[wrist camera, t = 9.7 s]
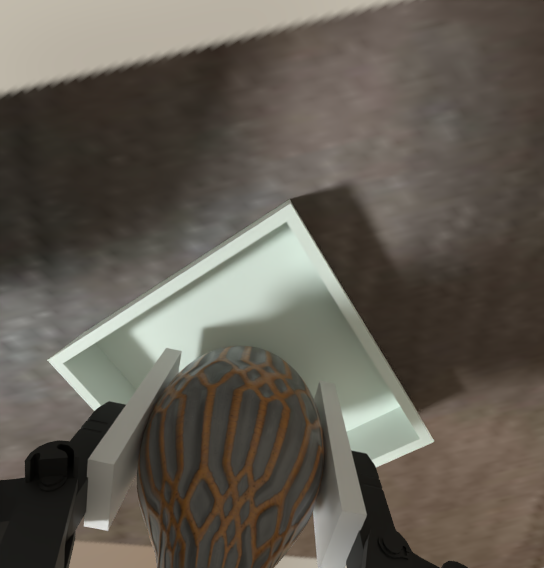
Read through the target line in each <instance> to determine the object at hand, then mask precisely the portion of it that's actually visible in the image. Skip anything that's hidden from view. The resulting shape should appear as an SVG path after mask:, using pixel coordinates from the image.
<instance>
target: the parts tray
mask: <svg viewBox="0 0 544 568" xmlns="http://www.w3.org/2000/svg"><path fill="white" fill-rule="evenodd" d="M229 346H251V347H256V348H260V349H263V350H266V351H269V352H271V353H273V354H275V355H277V356H278V357H280V358H282V359H283V360H284V361H286V362H287V363H288V364H289V365H290V366H291V367H292V368H293V369H295V371H296V372H297V373H298V374H299V375H300V377H301V378H302V379H303V381H304V382H305V383H306V385H307V387H308V388H309V390H310V392H311V394H312V396H313V398H314V397H315V394H316V391H317V387H318V384H319V381H324V382H329V383H334V384H335V387H336V391H337V395H338V399H339V403H340V407H341V411H342V415H343V419H344V423H345V428H346V432H347V436H348V440H349V444H350V448H351V450H352V451H357V452H362V453H366V454H367V455H368V456H369V458H370V459H371V460H372V462H373V463H374V465H375V467H378V466H380V465H382V464H385V463H387V462H389V461H392V460H394V459H396V458H398V457H401V456H403V455H405V454H407V453H410V452H412V451H414V450H417V449H419V448H421V447H423V446H426V445H428V444H430V443H433V442H434V440H433V438H432V436H431V435H430V433H429V431H428V429H427V428H426V426H425V424H424V422H423V421H422V419H421V417H420V415H419V414H418V412H417V410H416V409H415V407H414V405H413V403H412V402H411V400H410V398H409V397H408V395H407V393H406V392H405V390H404V388H403V387H402V385H401V383H400V382H399V380H398V378H397V377H396V375H395V373H394V372H393V370H392V368H391V367H390V365H389V363H388V362H387V360H386V358H385V357H384V355H383V353H382V352H381V350H380V348H379V347H378V345H377V343H376V342H375V340H374V338H373V337H372V335H371V333H370V332H369V330H368V328H367V327H366V325H365V323H364V322H363V320H362V319H361V317H360V315H359V314H358V312H357V310H356V309H355V307H354V305H353V304H352V302H351V300H350V299H349V297H348V295H347V294H346V292H345V290H344V289H343V287H342V285H341V284H340V282H339V280H338V279H337V277H336V275H335V274H334V272H333V270H332V269H331V267H330V265H329V264H328V262H327V260H326V259H325V257H324V255H323V254H322V252H321V250H320V249H319V247H318V245H317V244H316V242H315V241H314V239H313V237H312V236H311V234H310V232H309V231H308V229H307V227H306V226H305V224H304V222H303V221H302V219H301V217H300V216H299V214H298V212H297V211H296V209H295V207H294V206H293V204H292V202H291V201H290V199H289V200H287V201H286V202H284V203H283V204H281V205H280V206H278V207H277V208H275V209H273V210H272V211H270V212H269V213H267V214H266V215H264V216H263V217H261V218H260V219H258V220H256V221H255V222H253V223H252V224H250V225H249V226H247V227H246V228H244V229H243V230H241V231H240V232H238V233H236V234H235V235H233V236H232V237H230V238H229V239H227V240H226V241H224V242H223V243H221V244H219V245H218V246H216V247H215V248H213V249H212V250H210V251H209V252H207V253H206V254H204V255H203V256H201V257H199V258H198V259H196V260H195V261H193V262H192V263H190V264H189V265H187V266H186V267H184V268H182V269H181V270H179V271H178V272H176V273H175V274H173V275H172V276H170V277H169V278H167V279H165V280H164V281H162V282H161V283H159V284H158V285H156V286H155V287H153V288H152V289H150V290H149V291H147V292H145V293H144V294H142V295H141V296H139V297H138V298H136V299H135V300H133V301H132V302H130V303H128V304H127V305H125V306H124V307H122V308H121V309H119V310H118V311H116V312H115V313H113V314H112V315H110V316H108V317H107V318H105V319H104V320H102V321H101V322H99V323H98V324H96V325H95V326H93V327H91V328H90V329H88V330H87V331H85V332H84V333H83V334H81V335H80V336H79V337H77V338H76V339H75V340H73V341H72V342H71V343H70V344H68V345H67V346H66V347H64V348H63V349H62V350H60V351H59V352H58V353H56V354H55V355H54V356H52V357H51V358H50V359H48V361H49V362H50V363H51V365H52V366H53V367H54V368H55V369H56V370H57V371H58V372H59V373H60V374H61V375H62V376H63V378H64V379H65V380H66V381H67V382H68V383H69V384H70V385H71V386H72V387H73V388H74V389H75V391H76V392H77V393H78V394H79V395H80V396H81V397H82V398H83V399H84V400H85V401H86V402H87V403H88V405H89V406H90V407H91V408H92V409H93V410H94V411H95V410H96V409H97V408H99V407H100V406H102V405H103V404H105V403H107V402H108V401H111V402H116V403H121V404H125V405H126V404H127V403H128V401H129V400H130V399H131V397H132V396H133V394H134V393H135V391H136V390H137V389H138V387H139V386H140V384H141V383H142V382H143V380H144V379H145V377H146V376H147V374H148V373H149V372H150V370H151V369H152V367H153V366H154V364H155V363H156V362H157V360H158V359H159V357H160V356H161V354H162V353H163V352H164V350H165V349H166V348H170V349H174V350H179V351H182V353H181V360H180V366H179V372H180V371H181V370H182V369H184V368H185V367H186V366H187V365H188V364H190V363H191V362H193V361H194V360H196V359H197V358H199V357H200V356H202V355H204V354H206V353H208V352H211V351H214V350H217V349H220V348H224V347H229Z"/></svg>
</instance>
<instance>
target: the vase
mask: <svg viewBox="0 0 544 568" xmlns="http://www.w3.org/2000/svg"><path fill="white" fill-rule="evenodd" d="M323 468H324V439H323V431H322V425H321V420H320V416H319V413H318V409H317V406H316V403H315V401H314V398H313V396H312V394H311V392H310V390H309V388H308V387H307V385H306V383H305V382H304V381H303V379H302V378H301V377H300V375H299V374H298V373H297V372H296V371H295V369H293V368H292V367H291V366H290V365H289V364H288V363H287V362H286V361H284V360H283V359H282V358H280V357H278V356H277V355H275V354H273V353H271V352H269V351H266V350H263V349H260V348H256V347H251V346H229V347H224V348H220V349H217V350H214V351H211V352H208V353H206V354H204V355H202V356H200V357H199V358H197V359H196V360H194V361H193V362H191V363H190V364H188V365H187V366H186V367H185V368H184V369H182V370H181V371H180V372H179V373H178V374H177V375H176V376H175V377H174V378H173V379H172V381H171V382H170V383H169V385H168V386H167V387H166V388H165V390H164V391H163V393H162V394H161V396H160V398H159V399H158V401H157V402H156V404H155V406H154V408H153V410H152V412H151V414H150V416H149V419H148V421H147V424H146V427H145V429H144V433H143V437H142V441H141V445H140V450H139V456H138V465H137V492H138V498H139V504H140V508H141V512H142V515H143V518H144V522H145V525H146V528H147V531H148V534H149V537H150V540H151V543H152V545H153V548H154V552H155V555H156V562H157V568H274V567H275V566H276V565H277V564H278V562H279V561H280V560H281V559H282V558H283V556H284V555H285V554H286V553H287V551H288V550H289V549H290V548H291V546H292V545H293V544H294V542H295V541H296V540H297V538H298V537H299V536H300V534H301V533H302V531H303V530H304V528H305V526H306V524H307V523H308V521H309V519H310V517H311V514H312V512H313V509H314V507H315V504H316V501H317V498H318V494H319V490H320V485H321V481H322V475H323Z"/></svg>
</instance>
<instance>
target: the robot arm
mask: <svg viewBox="0 0 544 568" xmlns="http://www.w3.org/2000/svg"><path fill="white" fill-rule="evenodd" d="M181 353H182V351H179V350H174V349H170V348H166V349H165V350H164V352H163V353H162V354H161V356H160V357H159V359H158V360H157V362H156V363H155V364H154V366H153V367H152V369H151V370H150V372H149V373H148V374H147V376H146V377H145V379H144V380H143V382H142V383H141V384H140V386H139V387H138V389H137V390H136V391H135V393H134V394H133V396H132V397H131V399H130V400H129V401H128V403H127V404H126V405H125V404H121V403H116V402H111V401H108V402H107V403H105V404H103V405H102V406H100V407H99V408H97V409H96V410H95V411H94V412H93V414H92V415H91V416H90V417H89V419H88V421H86V422H85V423H84V425H83V426H82V427H81V429H80V430H79V431H78V432H77V433H76V434H75V436H74V437H73V438H72V439H71V441H70V442H69V441H54V442H49V443H46V444H44V445H42V446H39V447H38V448H36V449H35V450H34V451H32V452H31V453H30V454H29V456H28V457H27V459H26V460H25V478H19V479H10V480H0V568H69V564H70V559H71V555H72V550H73V546H74V541H75V530H76V528H77V526H78V525H79V523H80V521H81V520H82V518H83V516H84V515H85V516H84V526H86V527H91V528H96V529H101V530H106V531H108V530H109V528H110V526H111V524H112V522H113V520H114V518H115V516H116V514H117V512H118V510H119V508H120V506H121V504H122V502H123V500H124V498H125V496H126V494H127V492H128V490H129V488H130V486H131V484H132V482H133V480H134V478H135V476H136V474H137V465H138V456H139V450H140V445H141V441H142V437H143V433H144V429H145V427H146V424H147V421H148V419H149V416H150V414H151V412H152V410H153V408H154V406H155V404H156V402H157V401H158V399H159V398H160V396H161V394H162V393H163V391H164V390H165V388H166V387H167V386H168V385H169V383H170V382H171V381H172V379H173V378H174V377H175V376H176V375H177V374H178V373H179V366H180V360H181ZM314 401H315V403H316V406H317V409H318V413H319V416H320V420H321V425H322V431H323V439H324V468H323V475H322V481H321V485H320V490H319V494H318V498H317V501H316V504H315V507H314V509H313V516H314V528H315V540H316V551H317V563H318V568H345V566H347V568H439V567H437V566H436V565H434V564H432V563H430V562H428V561H426V560H424V559H422V558H421V557H419V556H418V555H416V554H414V553H413V552H412V551H411V549H410V547H409V545H408V543H407V541H406V540H405V539H404V538H403V537H402V536H401V534H400V533H398V532H397V531H396V529H395V527H394V524H393V521H392V517H391V514H390V511H389V508H388V505H387V502H386V498H385V495H384V492H383V490H382V486H381V483H380V480H379V476H378V473H377V470H376V467H375V465H374V463H373V462H372V460H371V459H370V458H369V456H368V455H367V454H366V453H362V452H357V451H352V450H351V448H350V444H349V440H348V436H347V432H346V428H345V423H344V419H343V415H342V411H341V407H340V403H339V399H338V395H337V391H336V387H335V384H334V383H329V382H324V381H319V384H318V387H317V391H316V394H315V397H314ZM441 568H468V567H466V566H465V565H463V564H460V563H458V562H455V561H448V562H446V563H444V564H443V566H442V567H441Z"/></svg>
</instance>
